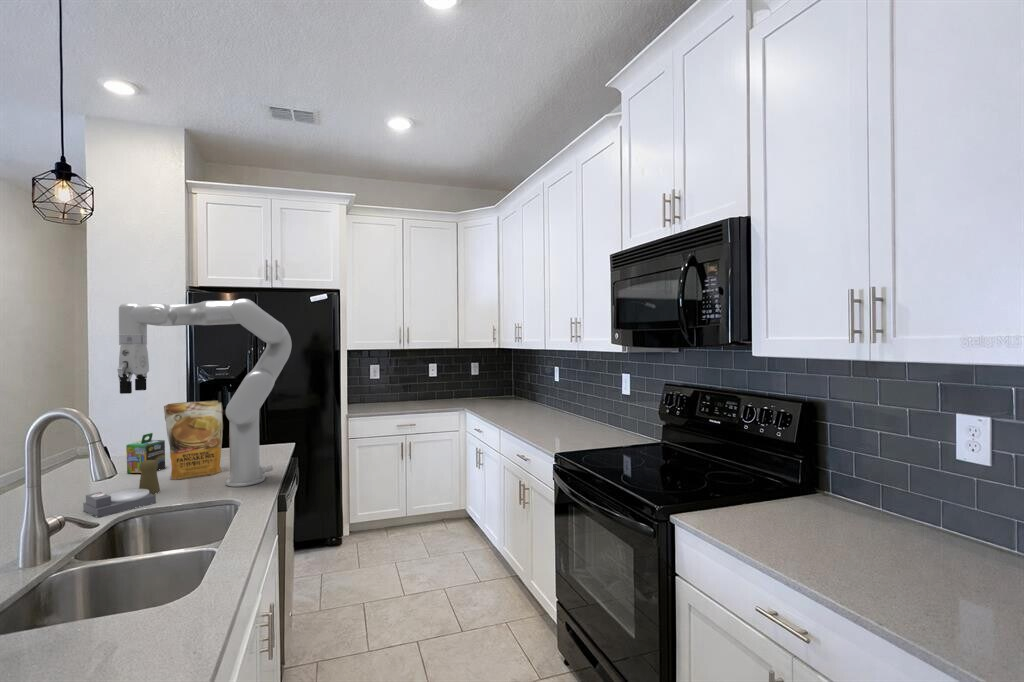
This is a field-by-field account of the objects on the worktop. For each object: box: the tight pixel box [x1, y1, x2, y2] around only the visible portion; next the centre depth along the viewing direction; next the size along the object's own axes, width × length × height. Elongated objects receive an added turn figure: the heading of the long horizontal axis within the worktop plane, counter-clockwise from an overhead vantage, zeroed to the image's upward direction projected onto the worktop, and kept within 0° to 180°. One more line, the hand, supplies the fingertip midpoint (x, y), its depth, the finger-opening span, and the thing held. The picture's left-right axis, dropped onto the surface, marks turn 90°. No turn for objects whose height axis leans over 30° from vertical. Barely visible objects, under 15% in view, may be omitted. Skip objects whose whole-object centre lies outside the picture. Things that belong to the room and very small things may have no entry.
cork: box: [138, 460, 161, 495], centre depth 171 cm, size 6×6×11 cm
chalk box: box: [125, 432, 166, 474], centre depth 199 cm, size 9×9×15 cm
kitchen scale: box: [82, 488, 157, 518], centre depth 157 cm, size 15×11×5 cm
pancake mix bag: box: [163, 399, 224, 480], centre depth 192 cm, size 7×19×28 cm, turn 126°
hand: (133, 391), depth 169 cm, fingers open, 9 cm apart
